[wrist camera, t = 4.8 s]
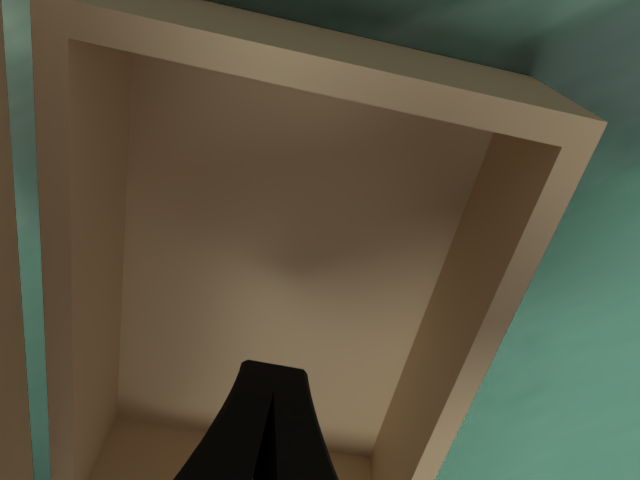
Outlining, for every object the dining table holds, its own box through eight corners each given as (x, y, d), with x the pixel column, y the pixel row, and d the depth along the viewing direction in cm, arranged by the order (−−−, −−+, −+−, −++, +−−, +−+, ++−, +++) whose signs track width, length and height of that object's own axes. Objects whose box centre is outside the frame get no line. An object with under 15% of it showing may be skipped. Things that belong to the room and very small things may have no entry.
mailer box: (382, 457, 19) (395, 568, 16) (104, 413, 19) (53, 521, 15) (534, 77, 13) (613, 123, 9) (116, -20, 12) (29, -9, 8)
